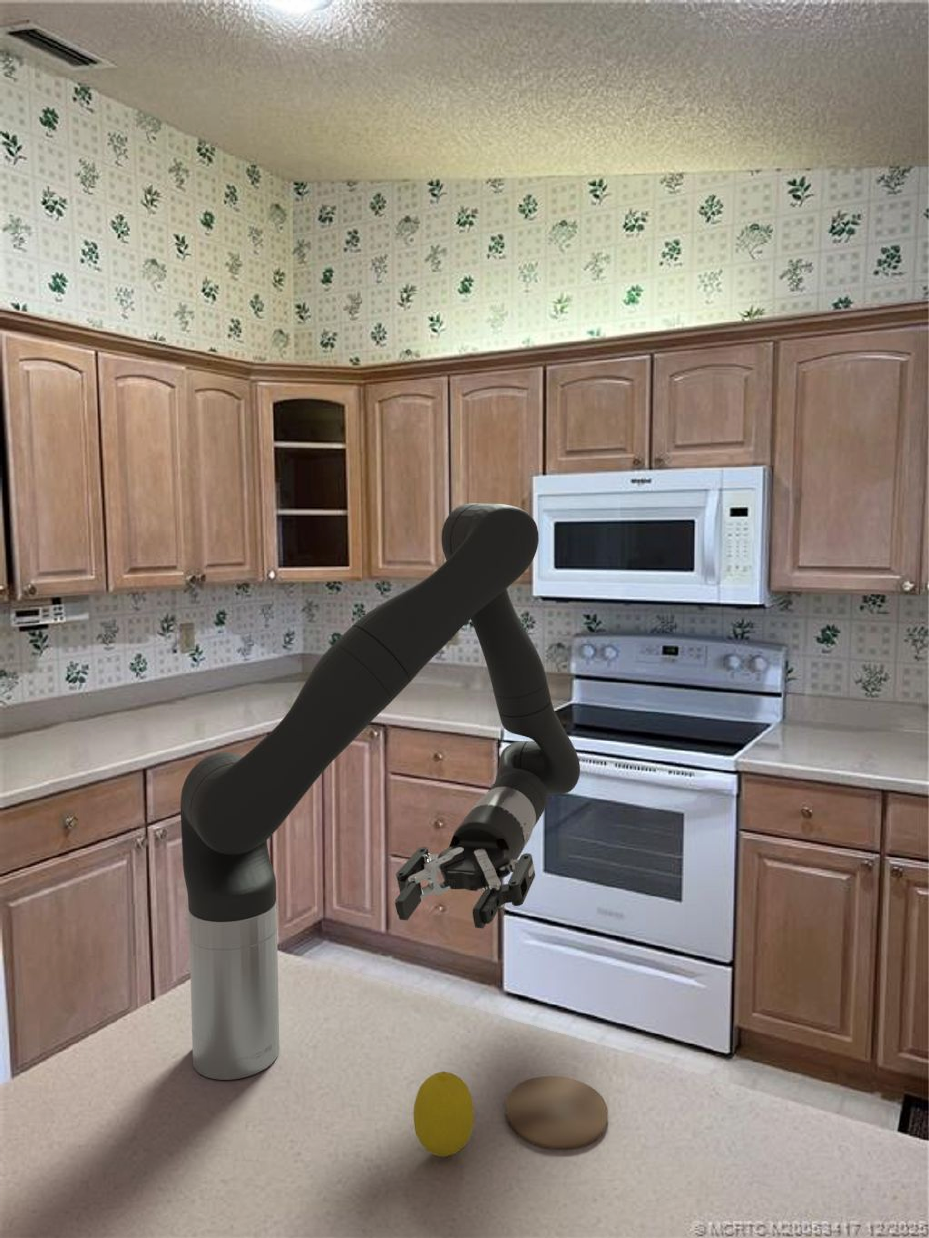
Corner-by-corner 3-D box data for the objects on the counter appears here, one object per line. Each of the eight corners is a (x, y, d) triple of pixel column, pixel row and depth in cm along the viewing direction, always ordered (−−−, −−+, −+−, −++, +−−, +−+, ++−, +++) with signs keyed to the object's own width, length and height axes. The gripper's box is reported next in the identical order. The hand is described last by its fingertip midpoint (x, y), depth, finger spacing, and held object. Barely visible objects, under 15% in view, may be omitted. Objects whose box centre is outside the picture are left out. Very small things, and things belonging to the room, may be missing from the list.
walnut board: (484, 1111, 86) (484, 1103, 86) (553, 1071, 93) (553, 1063, 93) (559, 1165, 79) (559, 1157, 79) (628, 1117, 85) (628, 1109, 85)
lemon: (467, 1181, 77) (467, 1095, 76) (406, 1172, 78) (406, 1087, 77) (478, 1139, 82) (479, 1058, 81) (422, 1131, 83) (421, 1051, 82)
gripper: (434, 801, 103) (369, 879, 89) (548, 805, 97) (497, 889, 83) (446, 856, 105) (383, 941, 91) (558, 864, 99) (510, 956, 85)
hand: (438, 916), depth 87 cm, fingers open, 8 cm apart
